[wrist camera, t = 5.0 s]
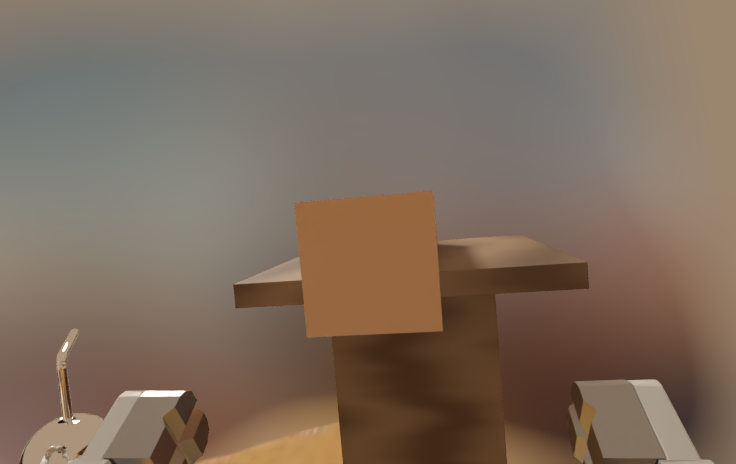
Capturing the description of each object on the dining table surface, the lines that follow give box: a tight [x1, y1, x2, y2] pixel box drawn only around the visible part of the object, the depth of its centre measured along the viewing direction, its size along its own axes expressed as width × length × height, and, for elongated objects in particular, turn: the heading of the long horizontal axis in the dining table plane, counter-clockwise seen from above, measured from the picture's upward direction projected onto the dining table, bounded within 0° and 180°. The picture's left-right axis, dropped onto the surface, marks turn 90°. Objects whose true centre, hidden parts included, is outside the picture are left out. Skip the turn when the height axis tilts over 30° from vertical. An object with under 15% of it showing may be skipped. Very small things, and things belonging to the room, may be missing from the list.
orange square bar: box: [295, 191, 443, 337], centre depth 20 cm, size 3×20×3 cm, turn 172°
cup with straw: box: [19, 329, 104, 464], centre depth 39 cm, size 8×9×20 cm
